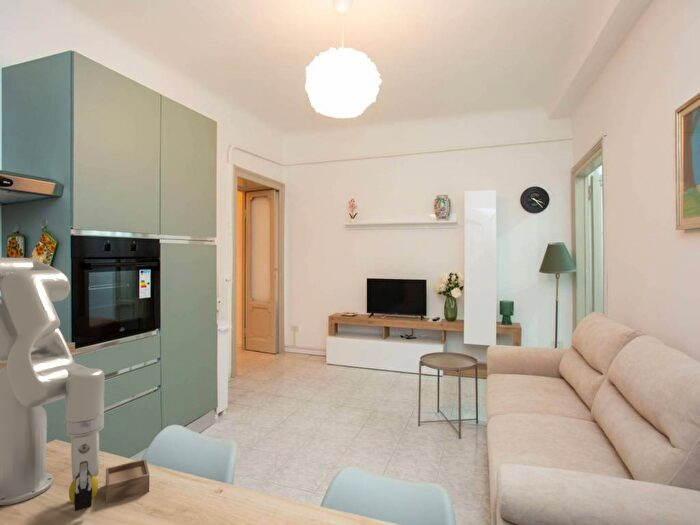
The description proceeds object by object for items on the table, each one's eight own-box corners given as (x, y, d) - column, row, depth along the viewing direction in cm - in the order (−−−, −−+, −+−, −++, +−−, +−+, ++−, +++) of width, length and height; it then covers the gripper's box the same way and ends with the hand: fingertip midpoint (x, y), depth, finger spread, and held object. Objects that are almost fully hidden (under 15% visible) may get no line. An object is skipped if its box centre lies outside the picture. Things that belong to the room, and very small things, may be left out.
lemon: (82, 515, 87) (83, 480, 87) (62, 512, 88) (63, 476, 88) (103, 500, 92) (103, 467, 92) (83, 497, 93) (84, 464, 93)
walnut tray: (106, 503, 91) (106, 485, 91) (105, 484, 99) (105, 468, 99) (149, 491, 96) (149, 474, 96) (145, 474, 104) (145, 458, 104)
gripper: (104, 434, 85) (103, 512, 85) (103, 408, 99) (102, 475, 99) (62, 442, 81) (60, 524, 81) (67, 414, 95) (66, 484, 95)
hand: (83, 497), depth 90 cm, fingers open, 9 cm apart
